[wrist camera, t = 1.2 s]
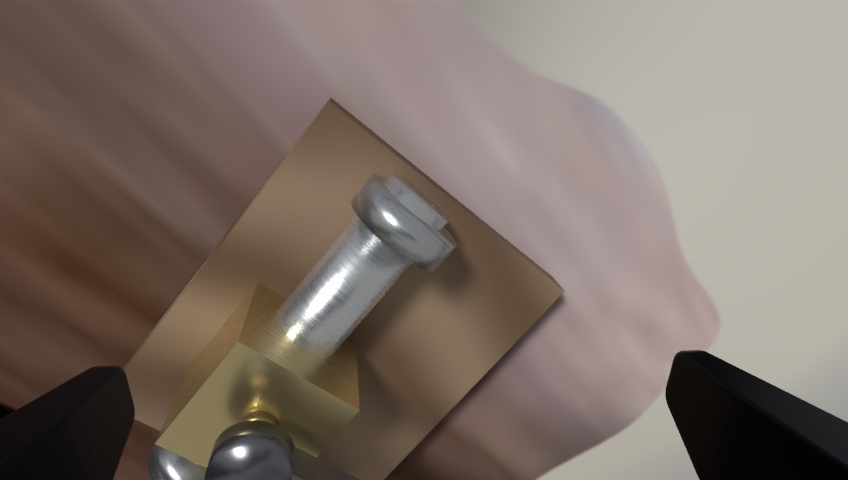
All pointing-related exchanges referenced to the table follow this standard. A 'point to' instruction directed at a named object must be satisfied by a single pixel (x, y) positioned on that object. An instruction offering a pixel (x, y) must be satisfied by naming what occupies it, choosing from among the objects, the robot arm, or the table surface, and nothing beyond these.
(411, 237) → the valve board
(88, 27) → the table surface
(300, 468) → the valve lever
